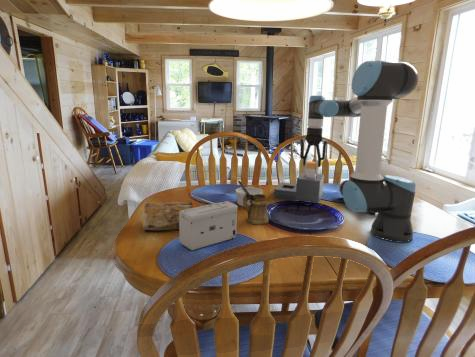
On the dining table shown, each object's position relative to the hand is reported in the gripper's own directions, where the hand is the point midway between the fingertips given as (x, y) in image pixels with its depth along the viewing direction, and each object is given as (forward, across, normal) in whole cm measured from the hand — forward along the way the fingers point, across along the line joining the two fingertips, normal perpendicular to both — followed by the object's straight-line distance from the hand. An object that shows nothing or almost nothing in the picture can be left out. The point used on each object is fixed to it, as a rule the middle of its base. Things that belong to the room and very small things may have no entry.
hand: (311, 172), depth 171 cm
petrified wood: (+15, +46, +63) cm, 80 cm away
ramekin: (+15, +26, +22) cm, 37 cm away
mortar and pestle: (+14, +17, +43) cm, 49 cm away
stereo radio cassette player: (+15, +25, +69) cm, 75 cm away
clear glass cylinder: (+5, 0, 0) cm, 5 cm away
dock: (+14, +6, 0) cm, 15 cm away
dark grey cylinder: (+15, -25, +1) cm, 29 cm away
